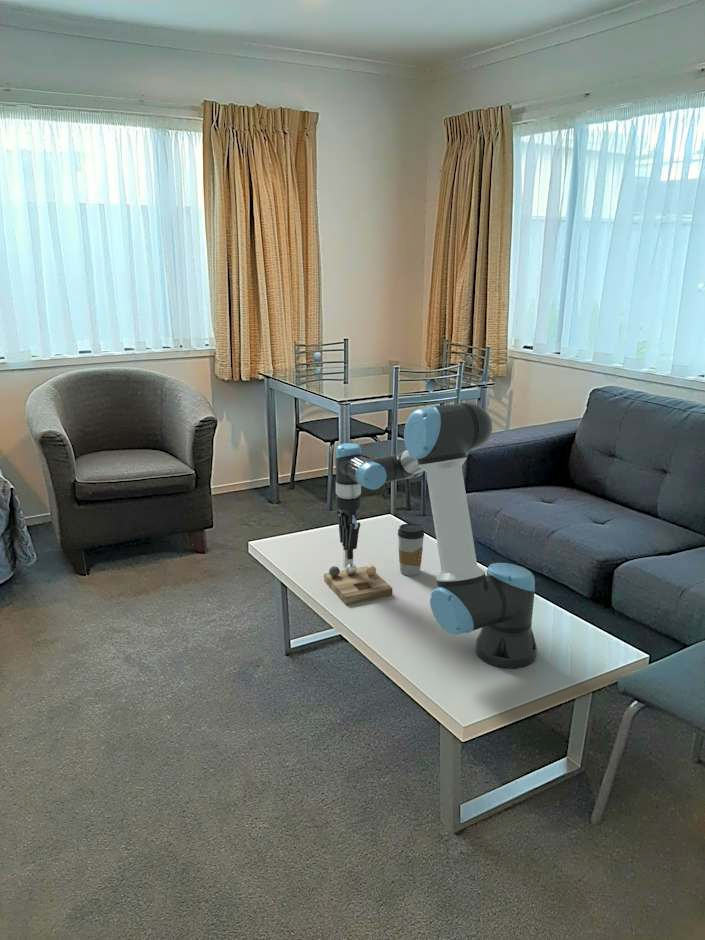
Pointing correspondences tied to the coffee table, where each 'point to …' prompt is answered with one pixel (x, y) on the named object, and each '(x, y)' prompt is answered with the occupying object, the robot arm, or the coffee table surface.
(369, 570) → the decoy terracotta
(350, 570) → the steel ball
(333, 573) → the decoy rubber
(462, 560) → the robot arm
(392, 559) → the coffee table surface
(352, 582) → the wooden flat board
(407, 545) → the coffee cup
